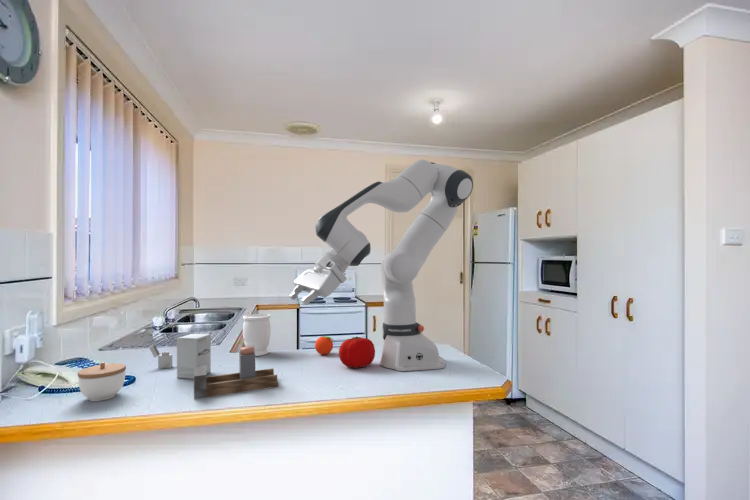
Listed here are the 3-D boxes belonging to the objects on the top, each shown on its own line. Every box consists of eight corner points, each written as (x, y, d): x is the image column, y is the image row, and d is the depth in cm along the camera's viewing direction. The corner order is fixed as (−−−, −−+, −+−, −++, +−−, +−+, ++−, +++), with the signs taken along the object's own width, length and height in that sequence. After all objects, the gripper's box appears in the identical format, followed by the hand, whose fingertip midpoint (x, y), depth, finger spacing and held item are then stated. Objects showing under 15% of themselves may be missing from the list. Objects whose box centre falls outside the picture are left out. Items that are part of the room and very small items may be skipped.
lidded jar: (75, 397, 105) (75, 363, 105) (121, 387, 113) (121, 355, 113) (81, 408, 98) (81, 370, 98) (130, 396, 105) (130, 362, 105)
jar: (266, 357, 144) (265, 317, 145) (238, 357, 145) (238, 317, 145) (274, 350, 155) (273, 313, 155) (248, 350, 155) (248, 313, 156)
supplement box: (197, 379, 120) (196, 338, 120) (176, 378, 121) (175, 337, 121) (211, 372, 127) (211, 333, 127) (191, 371, 128) (191, 333, 129)
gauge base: (272, 377, 121) (272, 357, 121) (278, 386, 111) (277, 365, 111) (195, 387, 112) (195, 366, 112) (194, 398, 103) (193, 376, 103)
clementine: (338, 352, 150) (338, 334, 150) (331, 357, 143) (331, 338, 143) (319, 351, 152) (319, 333, 152) (312, 356, 145) (311, 337, 145)
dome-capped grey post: (253, 376, 116) (253, 345, 116) (255, 381, 111) (255, 349, 111) (239, 378, 114) (239, 346, 114) (240, 383, 110) (240, 350, 110)
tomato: (380, 368, 129) (379, 337, 129) (343, 372, 124) (343, 340, 124) (368, 359, 139) (368, 331, 139) (334, 364, 134) (334, 334, 134)
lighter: (172, 366, 134) (172, 343, 135) (170, 367, 133) (170, 344, 133) (151, 367, 134) (151, 344, 134) (148, 368, 132) (148, 345, 132)
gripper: (308, 260, 130) (278, 288, 125) (337, 264, 113) (304, 298, 108) (319, 273, 133) (290, 302, 127) (349, 280, 116) (317, 313, 110)
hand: (297, 300), depth 117 cm, fingers open, 8 cm apart
